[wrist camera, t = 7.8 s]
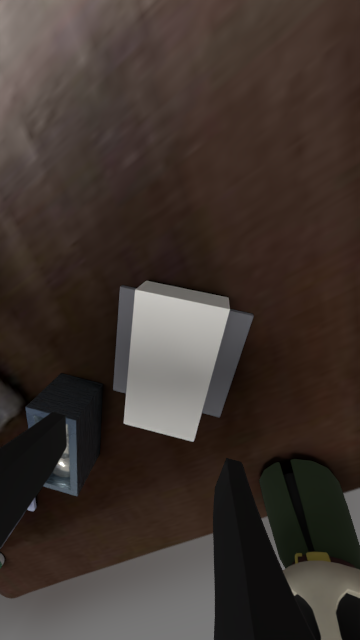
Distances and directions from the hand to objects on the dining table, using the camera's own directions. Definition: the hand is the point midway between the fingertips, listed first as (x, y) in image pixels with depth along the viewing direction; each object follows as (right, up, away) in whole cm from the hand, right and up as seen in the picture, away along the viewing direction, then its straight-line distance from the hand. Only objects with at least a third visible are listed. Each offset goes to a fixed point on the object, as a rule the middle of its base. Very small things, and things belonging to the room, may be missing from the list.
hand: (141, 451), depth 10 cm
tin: (-8, -3, +11) cm, 14 cm away
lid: (+1, +3, +6) cm, 7 cm away
